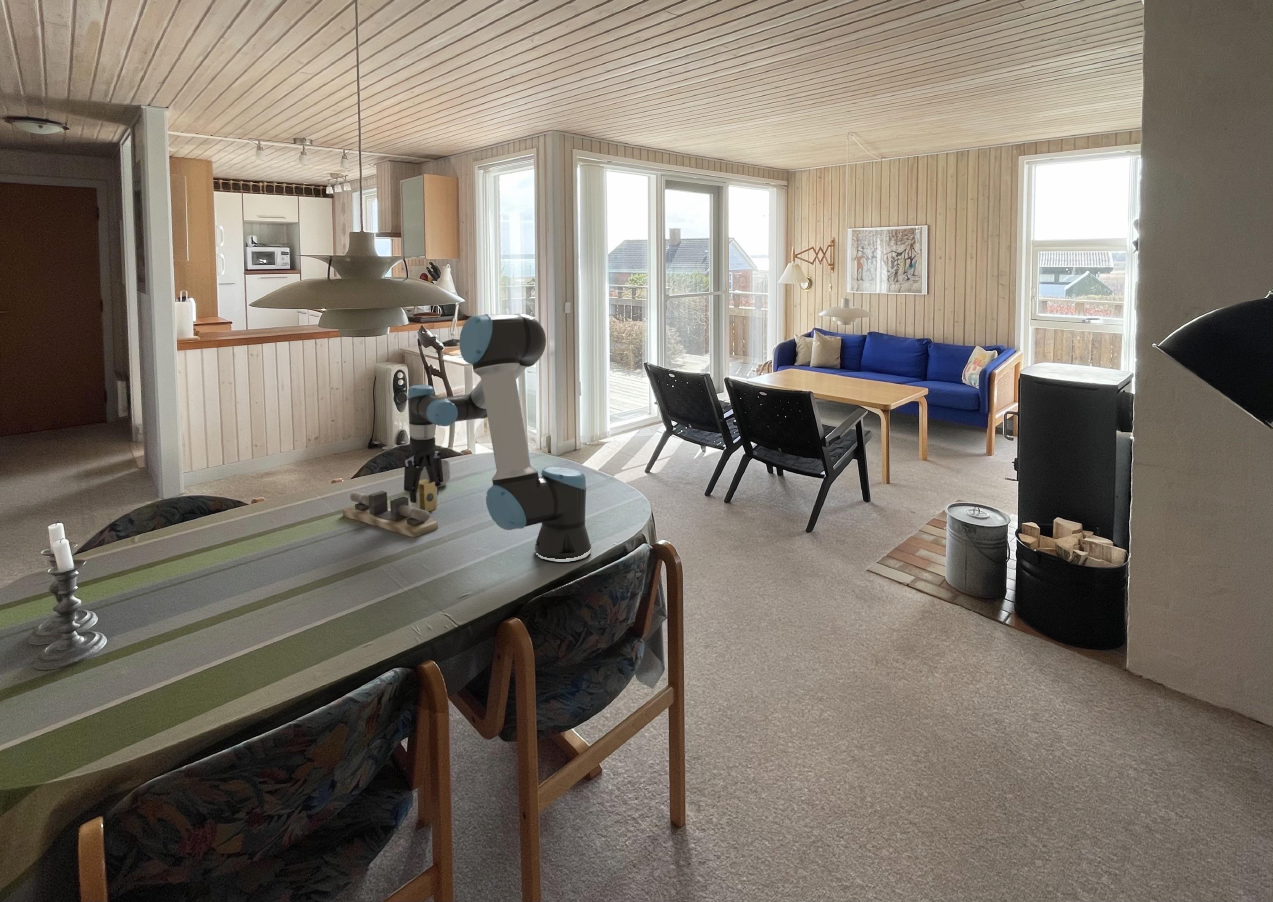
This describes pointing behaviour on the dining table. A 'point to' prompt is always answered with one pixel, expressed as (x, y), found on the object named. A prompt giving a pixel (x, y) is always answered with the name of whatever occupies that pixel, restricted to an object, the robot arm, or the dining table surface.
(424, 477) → the teacup
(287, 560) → the dining table surface
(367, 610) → the dining table surface
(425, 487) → the block
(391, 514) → the shaft rig
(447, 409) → the robot arm
